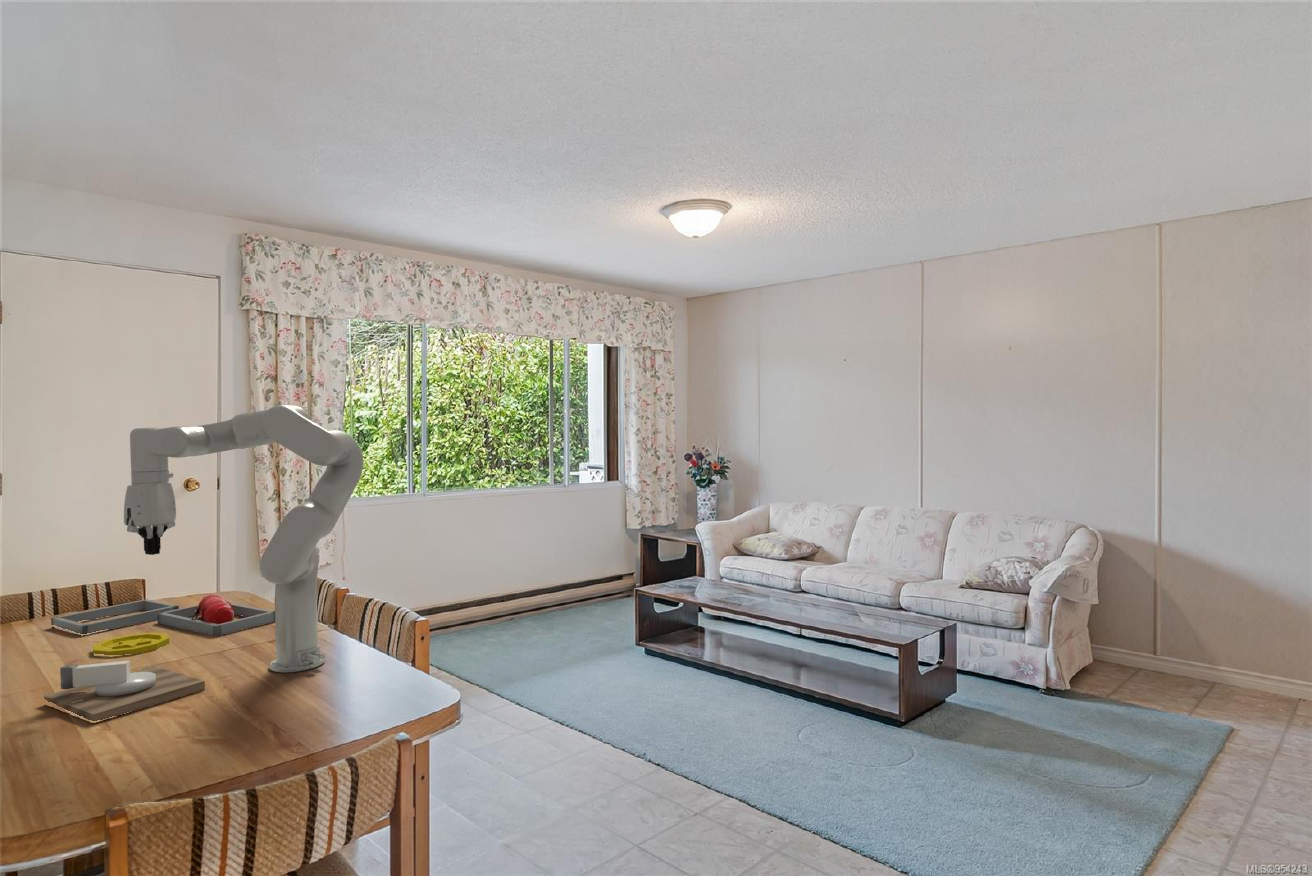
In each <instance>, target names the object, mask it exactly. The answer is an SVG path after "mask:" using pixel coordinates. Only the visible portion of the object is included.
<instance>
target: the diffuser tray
mask: <svg viewBox="0 0 1312 876" xmlns="http://www.w3.org/2000/svg"><path fill="white" fill-rule="evenodd" d="M176 609H180V605H177V604H173V603H167V602H163V601H159V600H152V599H148V598H145V599H141V600H136V601H131V602H125V603H121V604H116V605H111V606H105V607H100V608H96V609H90V610H85V611H80V612H73V613H70V614H65V615H61V616H60V615H58V616H54V617H50V626H51V625H56V626H58V627H61V628H63V629H68V630H71V631H74V632H76V633H80V634H87V633H92V632H96V631H100V630H105V629H114V630H116V629H115V628H118V629H120V628H119V627H123V628H125V627H124V626H127V627H131V626H130V625H132V626H136V625H141V624H145V623H148V622H149V621H150V622H154V621H158V613H162V612H167V611H171V610H176ZM141 611H142V612H141ZM135 612H137V613H135ZM131 613H132V614H131ZM125 614H128V615H125ZM112 615H117V616H119V617H114V618H108V619H103V620H98V621H94V622H90V623H89V622H88V623H84V622H83V623H79V622H78V621H82V620H92V619H96V618H101V617H106V616H112ZM120 615H122V616H120ZM123 615H124V616H123ZM112 617H113V616H112ZM153 620H154V621H153ZM92 621H93V620H92ZM150 622H149V623H150Z"/></svg>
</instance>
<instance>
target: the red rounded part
mask: <svg viewBox="0 0 1312 876" xmlns="http://www.w3.org/2000/svg"><path fill="white" fill-rule="evenodd" d="M227 603H229V604H230V605H228V604H227ZM231 603H232V602H230V601H227V600H226V599H225V598H224V597H223V596H221V595H219V594H214V593H213V594H208V595H206V596H203V597H202V599H201V600H200V602H198V605H199V608H198V609H196V610H195V611H196V612H195V614H194V615H193V617H191V619H196V620H198V619H197V618H198V616H199V615H198V614H201V618H202V619H203V621H205V622H210V623H214V624H222V623H226V622H230V621H234V617H235V615H234V612H233V609H232V608H233V606H232V605H231ZM231 606H232V607H231ZM196 613H197V615H196ZM195 615H196V616H195Z"/></svg>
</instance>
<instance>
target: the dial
mask: <svg viewBox="0 0 1312 876" xmlns="http://www.w3.org/2000/svg"><path fill="white" fill-rule="evenodd" d="M59 671H60V672H59V673H60V675H59V676H60V689H61V690H67V689H71V688H75V687H79V686H88V685H95V694H96V695H98V696H119V695H126V694H131V693H135V692H139V691H142V690H145V689H148V688H150V687H152V686H153V685H155V683H156V674H155V673H152V672H134V671H133V672H134V673H131V660H122V661H111V662H110V661H109V662H100V663H92V664H91V663H90V664H82V665H81V664H80V665H78V664H68V665H64V666H63V665H62V666H61V667H60V668H59Z"/></svg>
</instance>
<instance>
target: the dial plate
mask: <svg viewBox="0 0 1312 876" xmlns="http://www.w3.org/2000/svg"><path fill="white" fill-rule="evenodd" d="M134 672H152V673H155V674H156V683H155V685H153V686H152V687H150V688H148V689H145V690H142V691H139V692H135V693H131V694H126V695H119V696H98V695H96V694H95V685H88V686H79V687H75V688H71V689H63V690H61V691H57V692H54V693H48V694H45V695H43V700H44V699H45V700H47V701H48V702H52V703H54V704H56V705H57V706H59V707H62V708H64V709H66V710H68V711H71V712H73V713H75V714H77V715H79V716H83V717H84V718H86V719H88V720H92V721H97V720H103V719H106V718H109V717H112V716H118V715H121V714H124V713H127V712H130V711H135V712H137V710H138V711H140V710H139V709H141V710H143V709H142V708H144V709H146V708H145V707H148V708H151V707H153V706H156V705H155V704H157V705H160V704H162V703H161V702H164V703H166V702H169V700H170V701H172V699H173V700H175V699H174V698H176V699H178V697H180V698H182V697H186V696H188V694H189V695H192V694H191V693H193V694H196V693H198V692H202V691H205V690H206V683H205V682H206V681H205V680H203V679H199V678H196V677H192V676H189V675H186V674H183V673H178V672H175V671H172V670H169V669H164V668H161V667H157V666H155V665H154V666H150V667H146V668H143V669H139V670H134V671H132V672H131V671H130V673H134ZM159 703H160V704H159Z"/></svg>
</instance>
